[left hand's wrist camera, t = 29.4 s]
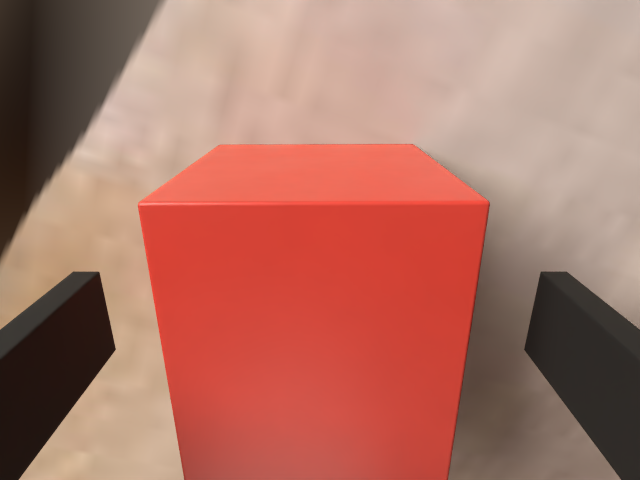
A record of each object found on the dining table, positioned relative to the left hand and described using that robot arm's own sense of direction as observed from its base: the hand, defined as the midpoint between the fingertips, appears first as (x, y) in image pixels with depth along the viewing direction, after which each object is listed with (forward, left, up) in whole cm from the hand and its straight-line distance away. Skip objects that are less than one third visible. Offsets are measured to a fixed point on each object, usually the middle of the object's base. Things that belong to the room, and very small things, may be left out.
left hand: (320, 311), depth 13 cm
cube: (0, 0, -4) cm, 4 cm away
